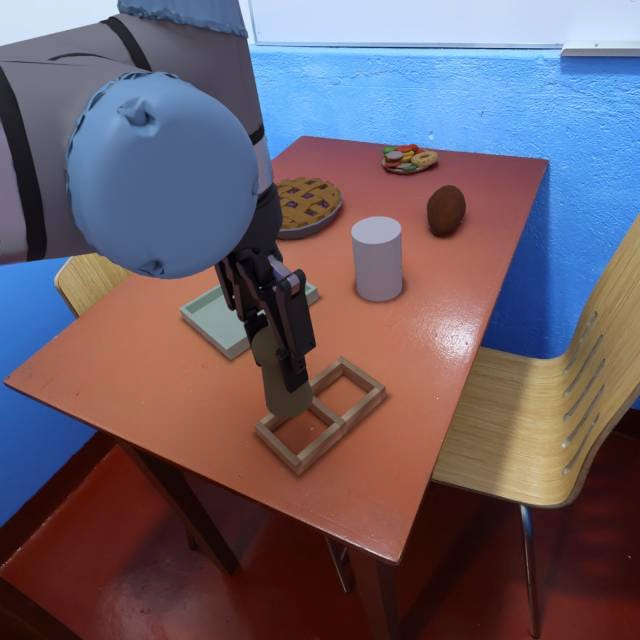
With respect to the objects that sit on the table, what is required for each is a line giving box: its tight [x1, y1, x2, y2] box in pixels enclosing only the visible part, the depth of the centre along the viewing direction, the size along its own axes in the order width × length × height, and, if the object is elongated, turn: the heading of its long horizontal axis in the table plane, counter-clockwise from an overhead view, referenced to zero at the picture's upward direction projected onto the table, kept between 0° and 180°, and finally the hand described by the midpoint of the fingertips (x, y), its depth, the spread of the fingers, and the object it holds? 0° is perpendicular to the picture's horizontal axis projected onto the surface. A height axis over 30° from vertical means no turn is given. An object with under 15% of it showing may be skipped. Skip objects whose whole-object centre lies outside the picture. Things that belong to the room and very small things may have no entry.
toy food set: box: [381, 143, 440, 175], centre depth 117 cm, size 13×13×3 cm
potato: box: [426, 184, 467, 236], centre depth 94 cm, size 8×12×8 cm, turn 160°
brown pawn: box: [251, 326, 313, 419], centre depth 55 cm, size 6×6×11 cm
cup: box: [350, 215, 403, 302], centre depth 81 cm, size 8×8×12 cm
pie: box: [275, 176, 344, 240], centre depth 105 cm, size 22×22×5 cm
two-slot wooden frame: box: [253, 355, 387, 477], centre depth 65 cm, size 17×9×2 cm, turn 133°
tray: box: [178, 280, 320, 361], centre depth 84 cm, size 20×16×3 cm
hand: (281, 371), depth 55 cm, fingers closed on brown pawn, 5 cm apart
